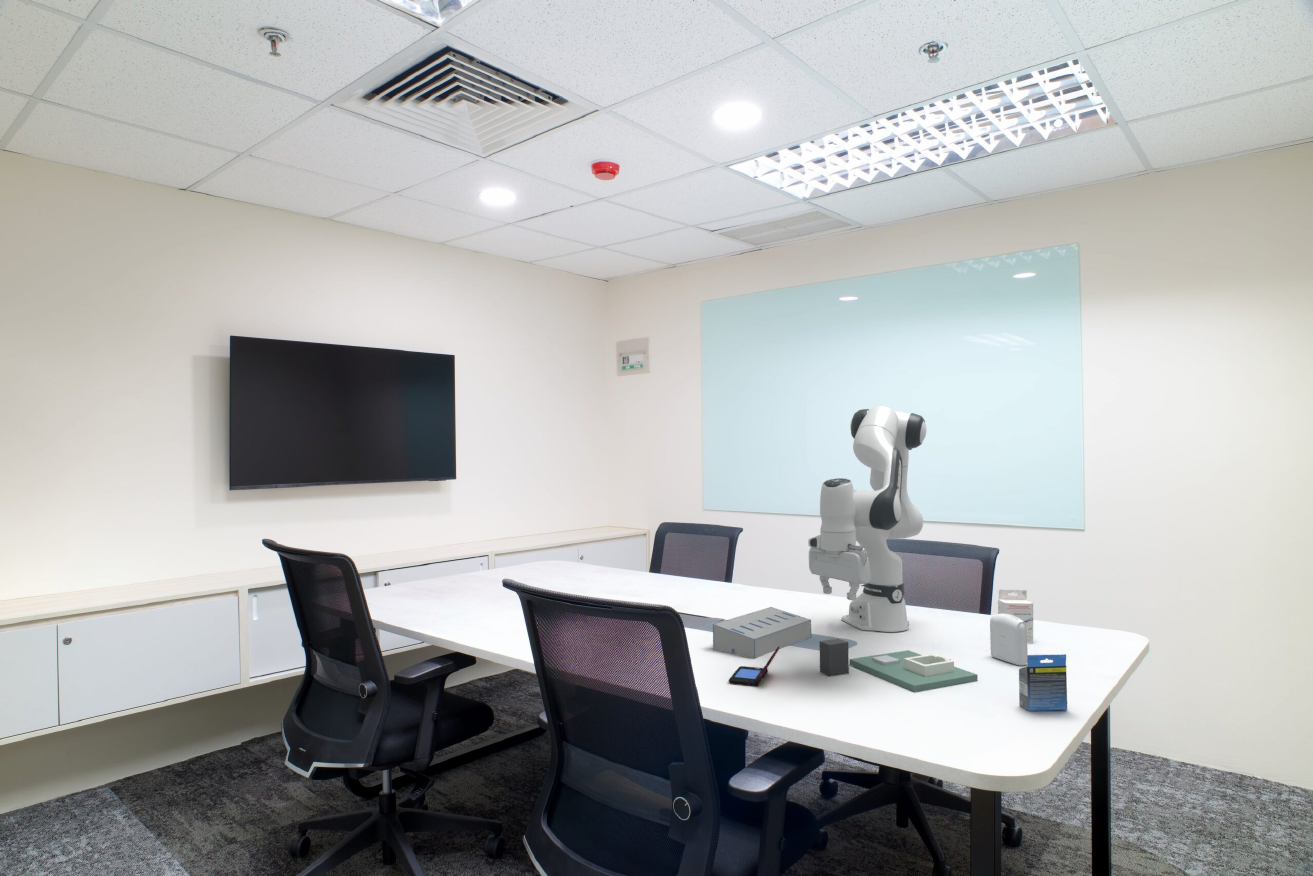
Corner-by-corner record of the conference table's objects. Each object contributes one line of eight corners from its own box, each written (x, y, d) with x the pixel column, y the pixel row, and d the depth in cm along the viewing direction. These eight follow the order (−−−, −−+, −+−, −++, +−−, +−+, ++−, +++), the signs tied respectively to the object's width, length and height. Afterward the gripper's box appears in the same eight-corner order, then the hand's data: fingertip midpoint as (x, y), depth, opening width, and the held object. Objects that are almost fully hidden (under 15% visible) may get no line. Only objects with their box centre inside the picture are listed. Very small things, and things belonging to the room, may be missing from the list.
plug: (819, 672, 190) (819, 641, 190) (842, 668, 193) (841, 638, 193) (829, 676, 186) (829, 645, 186) (851, 673, 189) (851, 641, 189)
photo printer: (987, 656, 203) (987, 611, 203) (1000, 655, 205) (999, 610, 205) (1018, 667, 193) (1017, 619, 194) (1030, 665, 195) (1029, 618, 195)
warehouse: (754, 660, 203) (754, 632, 203) (713, 650, 212) (712, 624, 212) (811, 638, 225) (811, 613, 225) (771, 630, 235) (771, 606, 235)
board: (849, 664, 196) (849, 649, 196) (908, 655, 204) (908, 641, 204) (914, 692, 174) (914, 675, 174) (977, 680, 182) (977, 664, 182)
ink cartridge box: (1003, 642, 217) (1003, 592, 217) (997, 638, 222) (997, 589, 222) (1034, 643, 216) (1033, 592, 217) (1027, 638, 221) (1026, 589, 222)
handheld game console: (739, 670, 193) (739, 641, 193) (780, 674, 190) (780, 645, 190) (727, 684, 181) (727, 654, 182) (771, 689, 178) (770, 658, 178)
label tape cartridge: (1057, 704, 165) (1057, 649, 165) (1068, 711, 161) (1067, 654, 162) (1018, 705, 165) (1018, 650, 165) (1028, 711, 161) (1027, 655, 161)
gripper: (876, 546, 181) (877, 602, 181) (823, 537, 200) (824, 589, 199) (855, 547, 178) (857, 605, 178) (804, 539, 197) (805, 591, 197)
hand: (839, 596), depth 189 cm, fingers open, 8 cm apart
